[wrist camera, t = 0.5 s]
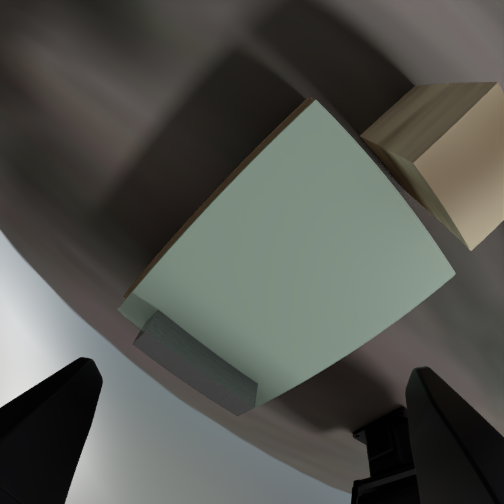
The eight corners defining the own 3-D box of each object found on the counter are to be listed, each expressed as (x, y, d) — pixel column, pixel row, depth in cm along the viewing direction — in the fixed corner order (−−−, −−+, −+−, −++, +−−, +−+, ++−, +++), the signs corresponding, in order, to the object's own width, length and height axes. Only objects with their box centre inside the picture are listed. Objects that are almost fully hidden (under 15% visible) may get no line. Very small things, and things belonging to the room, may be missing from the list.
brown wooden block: (455, 141, 17) (544, 175, 9) (404, 189, 19) (470, 251, 11) (414, 86, 16) (497, 82, 8) (359, 135, 18) (413, 163, 10)
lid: (448, 265, 16) (470, 293, 13) (255, 398, 22) (250, 431, 19) (314, 100, 13) (320, 98, 11) (123, 301, 19) (103, 329, 17)
